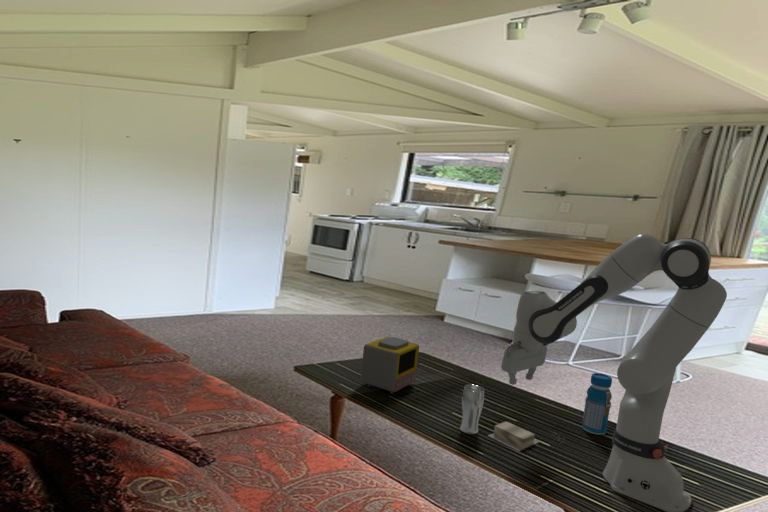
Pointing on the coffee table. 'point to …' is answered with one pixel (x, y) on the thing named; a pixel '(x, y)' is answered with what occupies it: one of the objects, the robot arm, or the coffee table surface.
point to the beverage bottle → (597, 404)
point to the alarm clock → (389, 363)
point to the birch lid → (514, 434)
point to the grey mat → (510, 442)
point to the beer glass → (471, 408)
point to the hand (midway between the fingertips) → (520, 381)
